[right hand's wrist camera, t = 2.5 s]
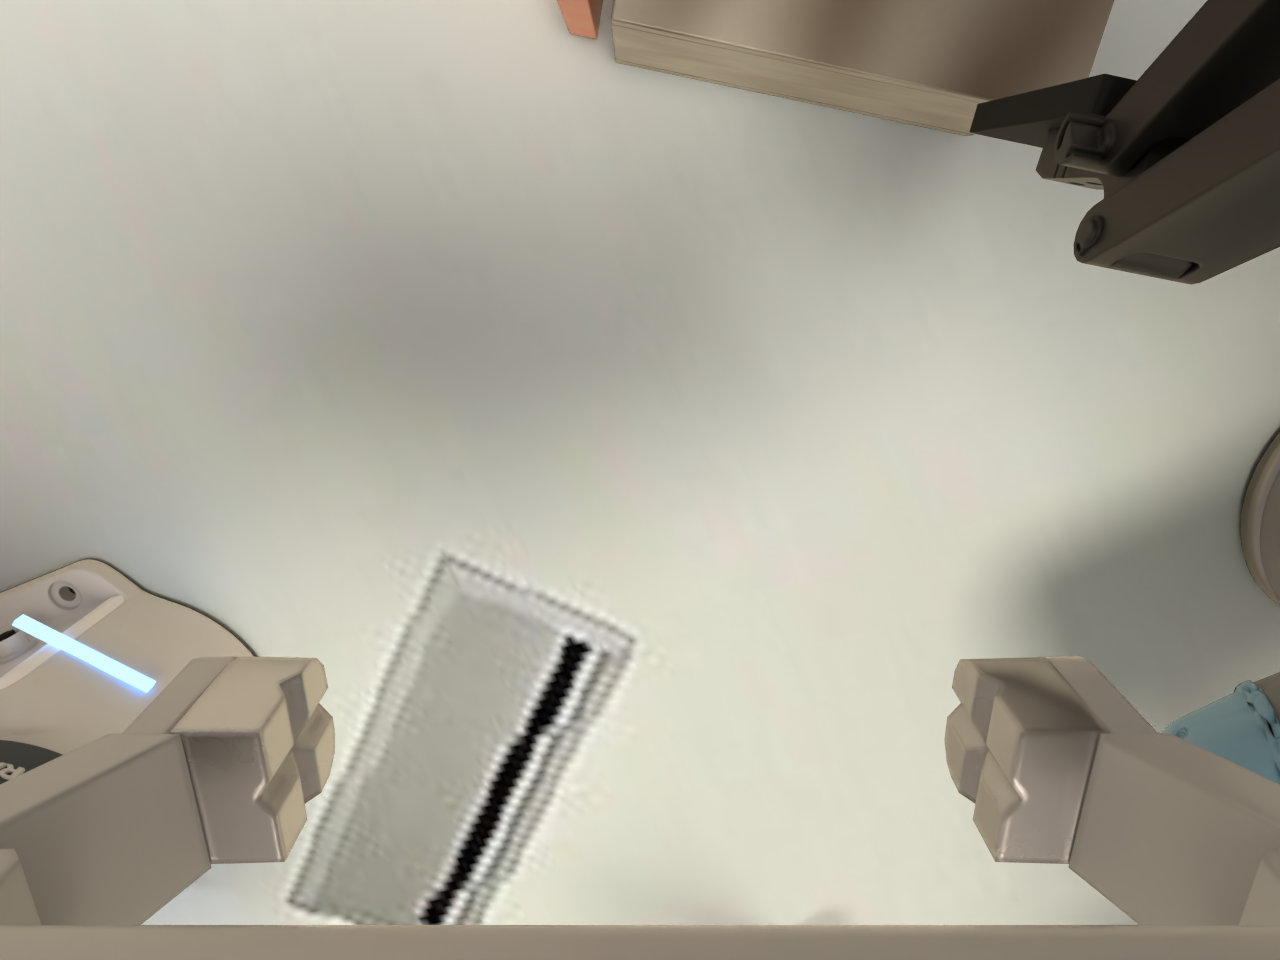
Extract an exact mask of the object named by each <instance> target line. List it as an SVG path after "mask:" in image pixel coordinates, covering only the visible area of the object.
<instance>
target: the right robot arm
mask: <svg viewBox="0 0 1280 960" xmlns="http://www.w3.org/2000/svg"><path fill="white" fill-rule="evenodd" d="M68 587H70V588H72V589H73V590H74V592H75V594H73V593H72V592H71V591H70V590H69V589H68ZM327 688H328V685H327V680H326V675H325V670H324V665H323V664H322V663H321V662H320V661H319V660H318V659H317V658H287V657H254V656H253V655H252V654H251V652H250V651H249V650H248V649H247V648H246V647H245V646H244V645H243V644H242V643H241V642H240V641H239V640H238V639H237V638H236V637H235V636H234V635H232V634H231V633H230V632H229V631H227V630H226V629H225V628H223V627H222V626H221V625H219V624H218V623H216V622H214V621H213V620H211V619H210V618H208V617H206V616H204V615H202V614H201V613H199V612H196V611H194V610H192V609H190V608H188V607H185V606H183V605H180V604H177V603H174V602H171V601H168V600H165V599H162V598H159V597H157V596H154V595H152V594H149V593H147V592H145V591H143V590H141V589H140V588H139V587H138V586H136V585H135V584H134V583H133V582H131V581H130V580H129V579H127V578H126V577H125V576H123V575H122V574H121V573H119V572H118V571H116V570H115V569H113V568H112V567H110V566H108V565H107V564H105V563H102V562H100V561H97V560H92V559H87V560H81V561H78V562H76V563H73V564H71V565H68V566H66V567H63V568H61V569H58V570H56V571H53V572H51V573H49V574H46V575H44V576H41V577H39V578H36V579H34V580H31V581H29V582H26V583H24V584H21V585H19V586H16V587H14V588H11V589H9V590H7V591H4V592H2V593H0V960H1280V784H1277V783H1275V782H1273V781H1271V780H1269V779H1267V778H1265V777H1263V776H1260V775H1258V774H1256V773H1254V772H1252V771H1250V770H1248V769H1246V768H1243V767H1241V766H1239V765H1237V764H1235V763H1233V762H1231V761H1229V760H1226V759H1224V758H1222V757H1220V756H1218V755H1216V754H1214V753H1211V752H1209V751H1207V750H1205V749H1203V748H1201V747H1199V746H1197V745H1194V744H1192V743H1190V742H1188V741H1186V740H1184V739H1182V738H1180V737H1177V736H1175V735H1173V734H1158V733H1157V732H1156V731H1155V729H1154V728H1153V727H1152V726H1151V725H1150V724H1149V723H1148V722H1147V721H1146V720H1145V719H1144V718H1143V717H1142V716H1141V715H1140V714H1139V713H1138V711H1137V710H1136V709H1135V708H1134V707H1133V706H1132V705H1131V704H1130V703H1129V702H1128V701H1127V700H1126V699H1125V698H1124V697H1123V696H1122V695H1121V693H1120V692H1119V691H1118V690H1117V689H1116V688H1115V687H1114V686H1113V685H1112V684H1111V683H1110V682H1109V681H1108V680H1107V679H1106V678H1105V677H1104V675H1103V674H1102V673H1101V672H1100V671H1099V670H1098V669H1097V668H1096V667H1095V666H1094V665H1093V664H1092V663H1091V662H1090V661H1089V660H1088V659H1085V658H1083V657H1080V656H1058V657H1039V658H999V659H960V661H959V663H958V665H957V667H956V669H955V673H954V679H953V685H952V688H953V690H954V692H955V693H956V695H957V697H958V698H959V700H960V702H961V704H960V705H959V706H958V707H957V708H956V709H955V710H954V711H953V712H952V713H951V714H950V715H949V716H948V717H947V724H946V733H945V748H946V759H947V764H948V767H949V771H950V774H951V778H952V780H953V782H954V784H955V786H956V788H957V790H958V792H959V793H960V794H962V795H963V796H965V797H966V798H968V799H969V800H971V801H972V802H974V803H975V810H974V816H973V821H974V822H975V824H976V826H977V828H978V830H979V832H980V834H981V836H982V837H983V839H984V841H985V843H986V845H987V847H988V849H989V851H990V853H991V854H992V856H993V858H994V860H995V862H1019V863H1055V864H1069V868H1070V869H1071V870H1073V871H1074V872H1075V873H1076V874H1078V875H1079V876H1080V877H1081V878H1082V879H1084V880H1085V881H1086V882H1087V883H1089V884H1090V885H1091V886H1092V887H1094V888H1095V889H1096V890H1097V891H1099V892H1100V893H1101V894H1102V895H1103V896H1105V897H1106V898H1107V899H1108V900H1110V901H1111V902H1112V903H1113V904H1115V905H1116V906H1117V907H1118V908H1120V909H1121V910H1122V911H1123V912H1124V913H1126V914H1127V915H1128V916H1129V917H1131V918H1132V919H1133V920H1134V921H1136V922H1137V923H1138V924H1139V925H141V924H142V923H143V922H145V921H146V920H147V919H148V918H150V917H151V916H152V915H153V914H155V913H156V912H157V911H158V910H160V909H161V908H162V907H163V906H164V905H166V904H167V903H168V902H169V901H171V900H172V899H173V898H174V897H176V896H177V895H178V894H179V893H181V892H182V891H183V890H184V889H186V888H187V887H188V886H189V885H190V884H192V883H193V882H194V881H195V880H197V879H198V878H199V877H200V876H202V875H203V874H204V873H205V872H207V871H208V870H209V869H210V868H211V864H224V863H259V862H285V860H286V858H287V856H288V855H289V853H290V851H291V849H292V847H293V845H294V843H295V841H296V839H297V838H298V836H299V834H300V832H301V830H302V828H303V826H304V824H305V822H306V820H307V816H306V810H305V803H306V802H308V801H309V800H311V799H312V798H314V797H315V796H317V795H318V794H320V793H321V792H322V790H323V788H324V786H325V783H326V781H327V779H328V777H329V775H330V771H331V766H332V762H333V758H334V753H335V730H334V723H333V717H332V716H331V715H330V714H329V713H328V712H327V711H326V710H325V709H324V708H323V707H322V706H321V705H320V704H319V702H320V700H321V698H322V697H323V695H324V693H325V692H326V690H327Z"/></svg>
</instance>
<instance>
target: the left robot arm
mask: <svg viewBox="0 0 1280 960" xmlns="http://www.w3.org/2000/svg"><path fill="white" fill-rule="evenodd" d="M969 132H970V133H974V134H979V135H984V136H989V137H994V138H999V139H1003V140H1008V141H1013V142H1018V143H1023V144H1027V145H1032V146H1037V147H1042V148H1043V150H1042V153H1041V156H1040V159H1039V162H1038V165H1037V168H1036V171H1037V172H1038V173H1039V175H1040V176H1041V177H1042V178H1044V179H1048V180H1053V181H1058V182H1063V183H1068V184H1073V185H1078V186H1083V187H1087V188H1092V189H1104V199H1103V200H1102V201H1100V202H1099V203H1097V204H1096V205H1094V206H1093V207H1092V208H1091V209H1090V210H1089V211H1088V212H1087V214H1086V215H1085V217H1084V218H1083V220H1082V221H1081V223H1080V225H1079V228H1078V230H1077V233H1076V236H1075V241H1074V255H1075V257H1076V259H1077V261H1079V262H1081V263H1085V264H1090V265H1095V266H1100V267H1105V268H1110V269H1115V270H1120V271H1125V272H1131V273H1136V274H1141V275H1146V276H1151V277H1156V278H1161V279H1166V280H1171V281H1176V282H1181V283H1186V284H1196V283H1200V282H1202V281H1205V280H1207V279H1209V278H1211V277H1214V276H1216V275H1218V274H1220V273H1222V272H1225V271H1227V270H1229V269H1231V268H1233V267H1236V266H1238V265H1240V264H1242V263H1245V262H1247V261H1249V260H1251V259H1253V258H1256V257H1258V256H1260V255H1262V254H1265V253H1267V252H1269V251H1271V250H1273V249H1276V248H1278V247H1280V0H1208V1H1207V2H1206V3H1205V4H1204V5H1203V6H1202V7H1201V8H1200V10H1199V11H1198V12H1197V13H1196V14H1195V15H1194V16H1193V18H1192V19H1191V20H1190V21H1189V22H1188V23H1187V24H1186V26H1185V27H1184V28H1183V29H1182V30H1181V31H1180V32H1179V34H1178V35H1177V36H1176V37H1175V38H1174V39H1173V40H1172V42H1171V43H1170V44H1169V45H1168V46H1167V47H1166V48H1165V50H1164V51H1163V52H1162V53H1161V54H1160V55H1159V56H1158V58H1157V59H1156V60H1155V61H1154V62H1153V63H1152V64H1151V66H1150V67H1149V68H1148V69H1147V70H1146V71H1145V72H1144V74H1143V75H1142V76H1141V77H1140V78H1139V79H1138V80H1137V81H1136V80H1131V79H1127V78H1122V77H1117V76H1113V75H1108V74H1102V75H1098V76H1093V77H1089V78H1085V79H1081V80H1077V81H1072V82H1068V83H1064V84H1060V85H1055V86H1051V87H1047V88H1043V89H1039V90H1034V91H1030V92H1026V93H1022V94H1017V95H1013V96H1009V97H1005V98H1001V99H996V100H992V101H988V102H984V103H979V104H977V108H976V111H975V114H974V118H973V121H972V124H971V128H970V131H969ZM1240 529H1241V543H1242V550H1243V554H1244V558H1245V561H1246V564H1247V566H1248V568H1249V571H1250V573H1251V575H1252V576H1253V578H1254V580H1255V581H1256V583H1257V584H1258V585H1259V587H1260V588H1261V589H1262V590H1263V591H1264V592H1265V593H1266V594H1267V595H1268V596H1269V597H1270V598H1271V599H1272V600H1273V601H1275V602H1276V603H1277V604H1279V605H1280V432H1279V434H1278V435H1277V436H1276V437H1275V439H1274V440H1273V441H1272V443H1271V444H1270V446H1269V447H1268V448H1267V450H1266V452H1265V453H1264V455H1263V457H1262V458H1261V460H1260V461H1259V463H1258V465H1257V467H1256V469H1255V471H1254V473H1253V476H1252V478H1251V481H1250V483H1249V486H1248V488H1247V492H1246V495H1245V499H1244V503H1243V508H1242V514H1241V526H1240ZM1161 734H1173V735H1175V736H1177V737H1180V738H1182V739H1184V740H1186V741H1188V742H1190V743H1192V744H1194V745H1197V746H1199V747H1201V748H1203V749H1205V750H1207V751H1209V752H1211V753H1214V754H1216V755H1218V756H1220V757H1222V758H1224V759H1226V760H1229V761H1231V762H1233V763H1235V764H1237V765H1239V766H1241V767H1243V768H1246V769H1248V770H1250V771H1252V772H1254V773H1256V774H1258V775H1260V776H1263V777H1265V778H1267V779H1269V780H1271V781H1273V782H1275V783H1277V784H1280V672H1279V673H1277V674H1274V675H1272V676H1269V677H1267V678H1264V679H1262V680H1259V681H1257V682H1254V683H1253V682H1252V681H1250V680H1248V681H1245V682H1243V683H1241V684H1239V685H1238V686H1237V687H1235V690H1234V693H1232V694H1230V695H1228V696H1226V697H1224V698H1222V699H1220V700H1218V701H1215V702H1213V703H1211V704H1209V705H1207V706H1205V707H1203V708H1201V709H1198V710H1196V711H1194V712H1192V713H1190V714H1188V715H1186V716H1184V717H1181V718H1179V719H1177V720H1176V721H1174V722H1172V723H1171V724H1170V725H1169V726H1167V727H1166V729H1165V730H1164V731H1163V732H1162V733H1161Z"/></svg>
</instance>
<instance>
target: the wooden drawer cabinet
mask: <svg viewBox="0 0 1280 960" xmlns="http://www.w3.org/2000/svg"><path fill="white" fill-rule="evenodd" d="M1113 2H1114V0H614V2H613V9H612V15H611V21H612V32H613V41H614V50H615V62H616V63H621V64H625V65H630V66H635V67H640V68H644V69H649V70H654V71H659V72H664V73H668V74H673V75H678V76H683V77H687V78H692V79H697V80H702V81H707V82H711V83H716V84H721V85H726V86H730V87H735V88H740V89H745V90H749V91H754V92H759V93H764V94H769V95H773V96H778V97H783V98H788V99H792V100H797V101H802V102H807V103H812V104H816V105H821V106H826V107H831V108H835V109H840V110H845V111H850V112H854V113H859V114H864V115H869V116H874V117H878V118H883V119H888V120H893V121H897V122H902V123H907V124H912V125H916V126H921V127H926V128H931V129H936V130H940V131H945V132H950V133H955V134H959V135H964V136H969V135H973V134H974V133H970V132H969V131H970V128H971V124H972V121H973V118H974V114H975V111H976V108H977V104H979V103H984V102H988V101H992V100H996V99H1001V98H1005V97H1009V96H1013V95H1017V94H1022V93H1026V92H1030V91H1034V90H1039V89H1043V88H1047V87H1051V86H1055V85H1060V84H1064V83H1068V82H1072V81H1077V80H1081V79H1085V78H1088V77H1089V74H1090V71H1091V68H1092V65H1093V62H1094V59H1095V56H1096V53H1097V50H1098V47H1099V44H1100V41H1101V38H1102V35H1103V32H1104V29H1105V26H1106V23H1107V20H1108V17H1109V14H1110V11H1111V8H1112V5H1113Z"/></svg>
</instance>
